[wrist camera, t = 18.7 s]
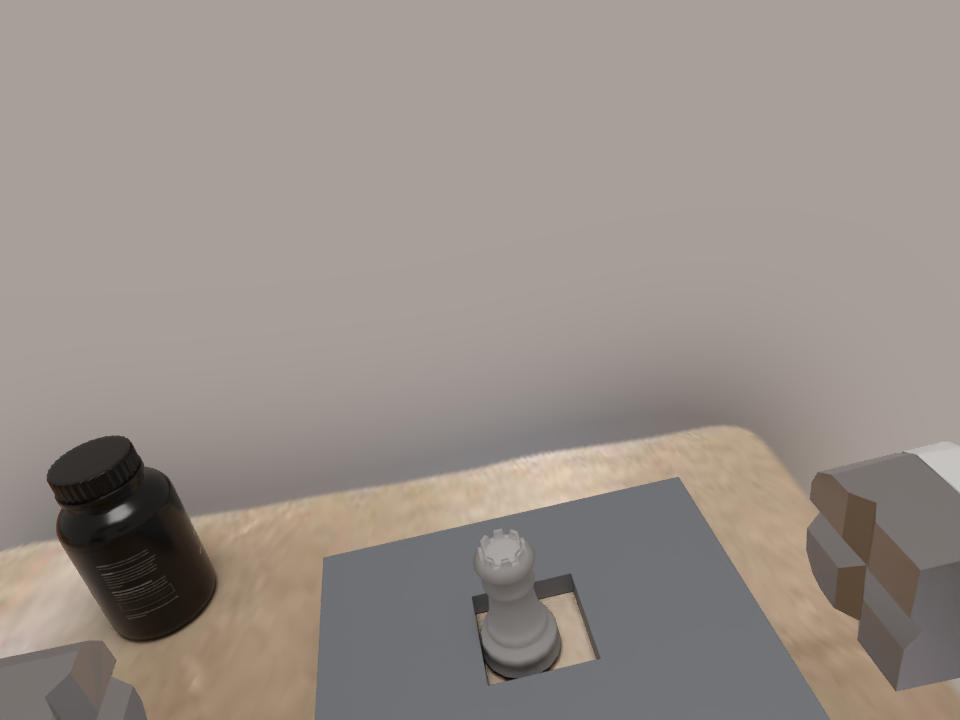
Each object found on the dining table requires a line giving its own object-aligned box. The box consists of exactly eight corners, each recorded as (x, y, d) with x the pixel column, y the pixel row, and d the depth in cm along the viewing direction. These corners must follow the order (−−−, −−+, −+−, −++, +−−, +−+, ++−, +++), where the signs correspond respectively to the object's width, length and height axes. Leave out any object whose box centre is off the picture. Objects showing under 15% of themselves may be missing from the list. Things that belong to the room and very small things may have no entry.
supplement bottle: (236, 563, 50) (172, 423, 44) (183, 648, 44) (101, 500, 38) (152, 559, 52) (79, 424, 46) (90, 640, 46) (-2, 498, 40)
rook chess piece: (522, 603, 43) (502, 502, 39) (579, 645, 40) (564, 540, 36) (466, 652, 41) (440, 550, 37) (522, 700, 38) (499, 594, 34)
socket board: (317, 871, 32) (307, 854, 31) (329, 574, 48) (323, 557, 47) (829, 742, 33) (832, 723, 33) (679, 493, 49) (678, 476, 48)
